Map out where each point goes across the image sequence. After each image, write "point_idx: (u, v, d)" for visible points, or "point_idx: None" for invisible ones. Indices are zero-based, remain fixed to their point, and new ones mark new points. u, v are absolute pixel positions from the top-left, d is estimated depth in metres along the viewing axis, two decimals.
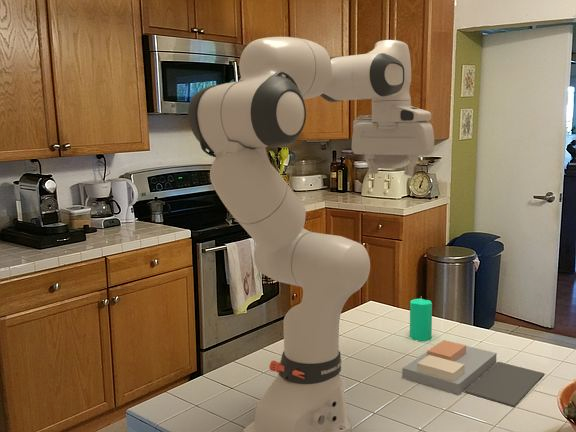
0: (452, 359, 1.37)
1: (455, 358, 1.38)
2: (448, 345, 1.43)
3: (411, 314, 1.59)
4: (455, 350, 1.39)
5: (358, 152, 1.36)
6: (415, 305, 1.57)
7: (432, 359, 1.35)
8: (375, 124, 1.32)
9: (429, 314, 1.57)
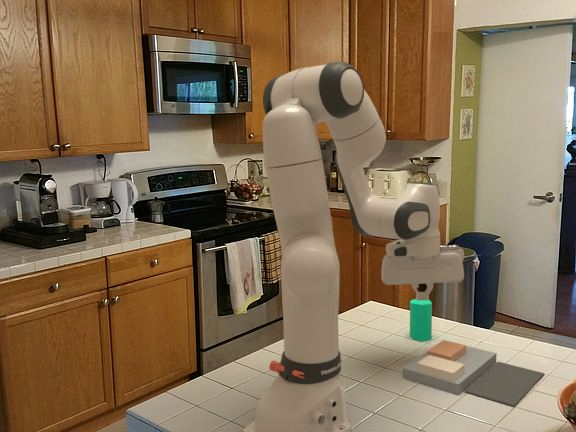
0: (452, 359, 1.37)
1: (455, 358, 1.38)
2: (448, 345, 1.43)
3: (411, 314, 1.59)
4: (455, 350, 1.39)
5: None
6: (415, 305, 1.57)
7: (432, 359, 1.35)
8: None
9: (429, 314, 1.57)
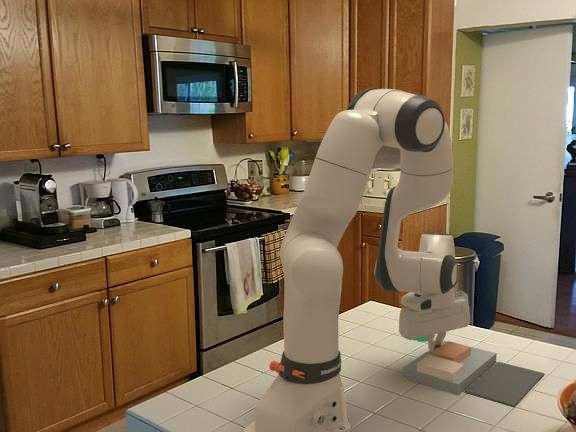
0: (456, 360, 1.36)
1: (459, 359, 1.37)
2: (453, 346, 1.42)
3: None
4: (459, 352, 1.38)
5: None
6: None
7: (432, 359, 1.35)
8: None
9: None
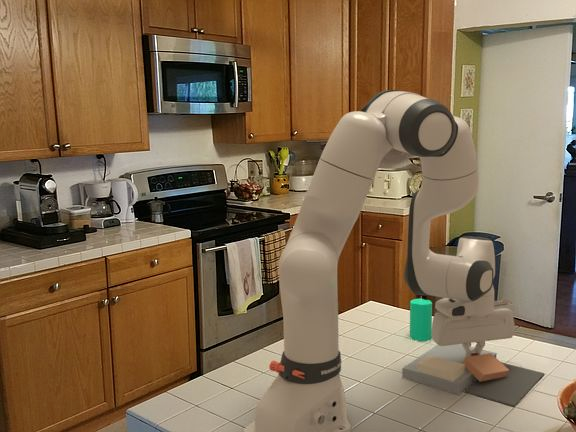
0: (485, 377, 1.29)
1: (489, 378, 1.30)
2: (491, 361, 1.34)
3: (411, 314, 1.59)
4: (493, 370, 1.31)
5: None
6: (415, 305, 1.57)
7: (432, 359, 1.35)
8: None
9: (429, 314, 1.57)
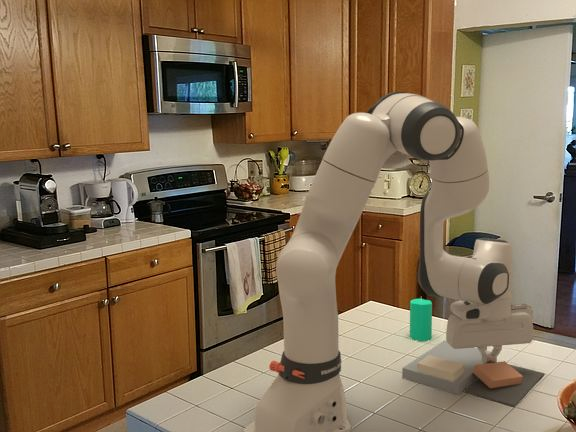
0: (495, 384, 1.27)
1: (501, 384, 1.27)
2: (504, 368, 1.31)
3: (411, 314, 1.59)
4: (505, 377, 1.28)
5: None
6: (415, 305, 1.57)
7: (432, 359, 1.35)
8: None
9: (429, 314, 1.57)
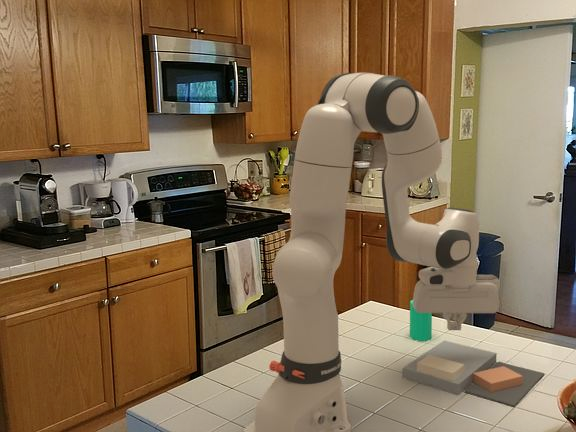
0: (495, 387, 1.27)
1: (501, 387, 1.27)
2: (503, 372, 1.32)
3: (411, 314, 1.59)
4: (504, 379, 1.28)
5: None
6: None
7: (432, 359, 1.35)
8: None
9: (429, 314, 1.57)
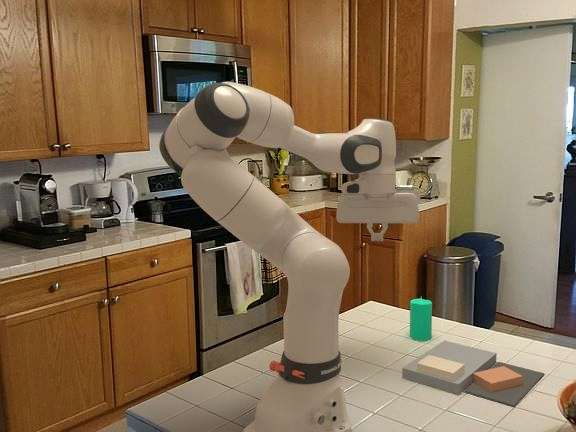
0: (495, 387, 1.27)
1: (501, 387, 1.27)
2: (503, 372, 1.32)
3: (411, 314, 1.59)
4: (504, 379, 1.28)
5: None
6: (415, 305, 1.57)
7: (432, 359, 1.35)
8: None
9: (429, 314, 1.57)
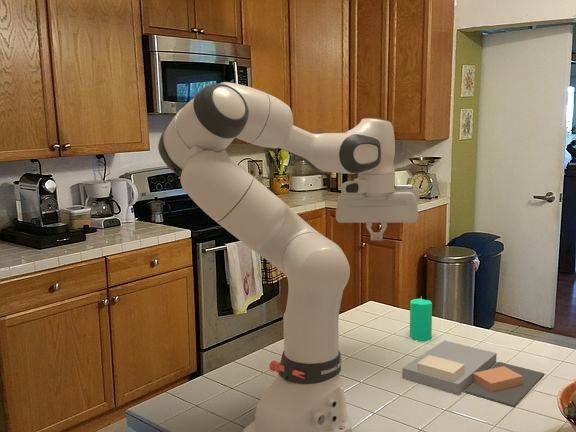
0: (495, 387, 1.27)
1: (501, 387, 1.27)
2: (503, 372, 1.32)
3: (411, 314, 1.59)
4: (504, 379, 1.28)
5: None
6: (415, 305, 1.57)
7: (432, 359, 1.35)
8: None
9: (429, 314, 1.57)
